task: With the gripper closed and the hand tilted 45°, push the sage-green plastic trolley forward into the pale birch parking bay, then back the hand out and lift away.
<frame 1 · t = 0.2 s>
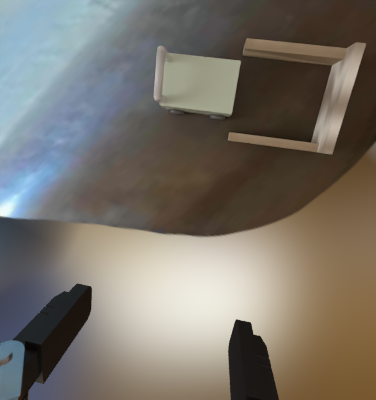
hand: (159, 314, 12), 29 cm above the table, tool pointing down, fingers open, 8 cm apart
sage trolley: (200, 91, 36), on the table
birch bay: (277, 100, 35), on the table
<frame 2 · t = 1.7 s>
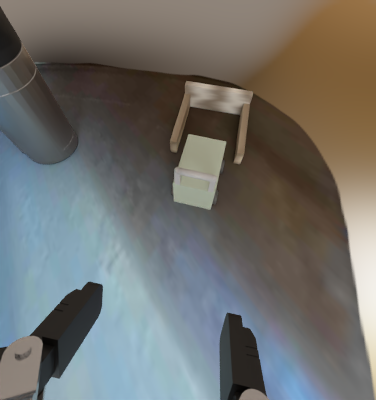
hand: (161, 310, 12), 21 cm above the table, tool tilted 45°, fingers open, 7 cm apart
sage trolley: (198, 181, 41), on the table
birch bay: (210, 132, 46), on the table
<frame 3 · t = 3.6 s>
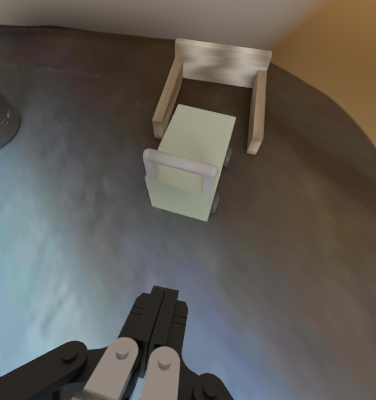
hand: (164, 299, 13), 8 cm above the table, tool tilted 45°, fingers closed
sage trolley: (191, 178, 27), on the table
birch bay: (211, 111, 32), on the table
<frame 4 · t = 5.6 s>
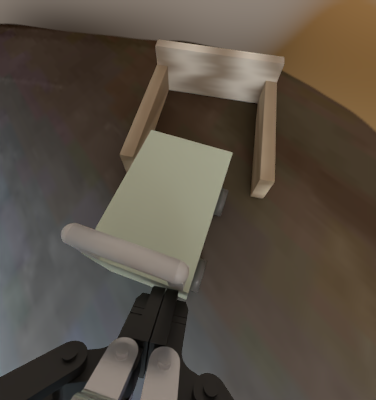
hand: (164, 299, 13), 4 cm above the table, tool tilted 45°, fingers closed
sage trolley: (170, 228, 20), on the table, touching gripper
birch bay: (204, 135, 25), on the table
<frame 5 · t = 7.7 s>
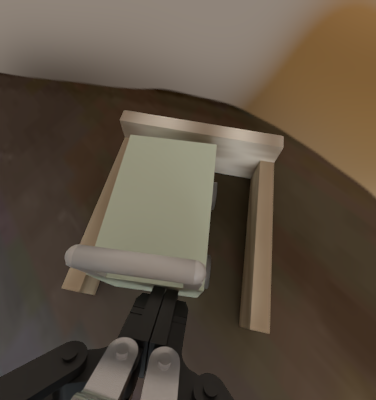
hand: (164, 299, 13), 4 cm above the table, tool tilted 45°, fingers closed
sage trolley: (166, 230, 20), resting in birch bay, touching gripper
birch bay: (182, 229, 20), on the table
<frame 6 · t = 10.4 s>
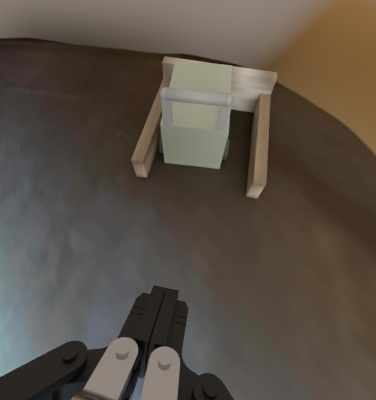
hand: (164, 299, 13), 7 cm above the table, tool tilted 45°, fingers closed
sage trolley: (196, 134, 28), resting in birch bay
birch bay: (205, 142, 28), on the table
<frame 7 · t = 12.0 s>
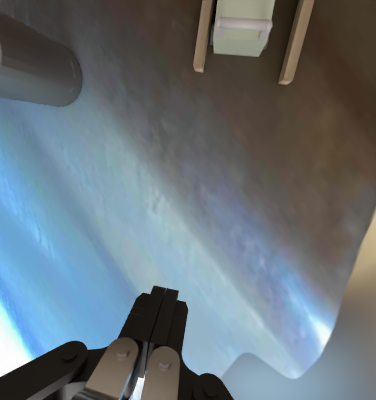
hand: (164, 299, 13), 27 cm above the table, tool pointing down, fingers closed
sage trolley: (242, 13, 31), resting in birch bay
birch bay: (250, 25, 31), on the table
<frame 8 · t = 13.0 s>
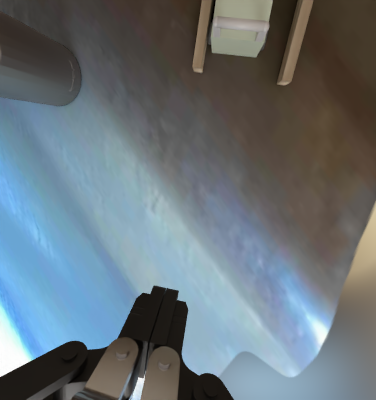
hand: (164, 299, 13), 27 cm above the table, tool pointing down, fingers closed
sage trolley: (240, 13, 31), resting in birch bay
birch bay: (249, 26, 31), on the table
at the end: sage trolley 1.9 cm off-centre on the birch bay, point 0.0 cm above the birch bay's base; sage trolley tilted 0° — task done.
